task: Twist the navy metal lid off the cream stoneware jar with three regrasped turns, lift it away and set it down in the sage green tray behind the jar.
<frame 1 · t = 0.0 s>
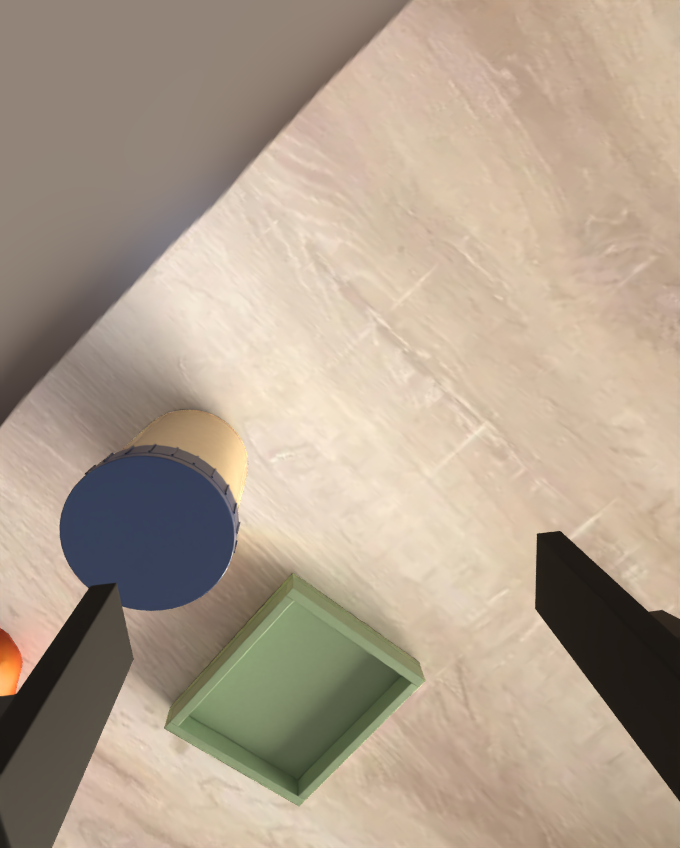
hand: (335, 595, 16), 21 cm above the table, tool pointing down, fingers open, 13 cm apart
lid: (151, 532, 26), point 11 cm above the table, screwed on, not yet turned
tray: (296, 684, 42), on the table
jar: (191, 463, 37), on the table
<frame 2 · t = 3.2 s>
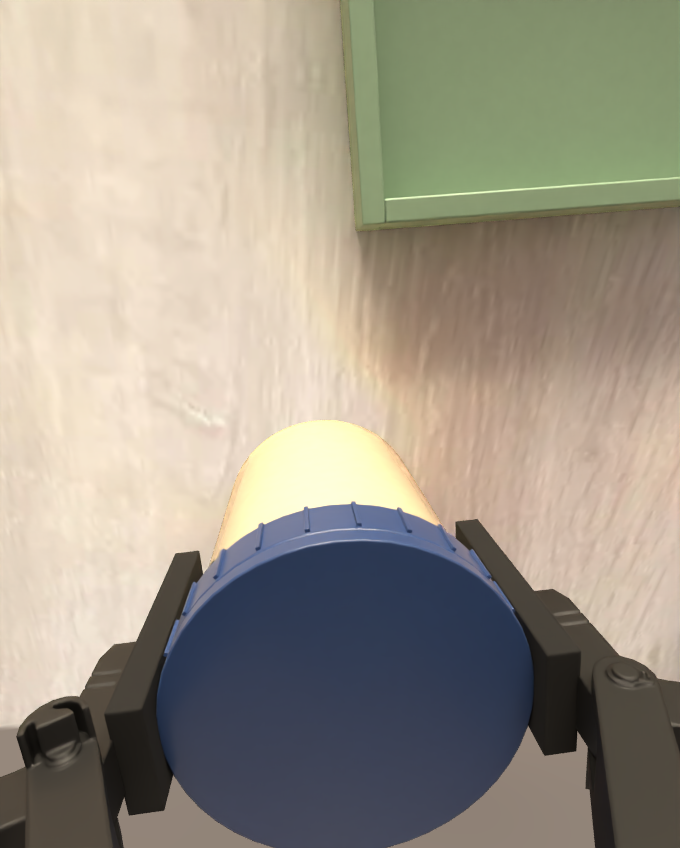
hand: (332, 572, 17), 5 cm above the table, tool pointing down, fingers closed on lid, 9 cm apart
lid: (348, 695, 12), point 11 cm above the table, screwed on, not yet turned, touching gripper
tray: (559, 11, 18), on the table
jar: (323, 508, 22), on the table
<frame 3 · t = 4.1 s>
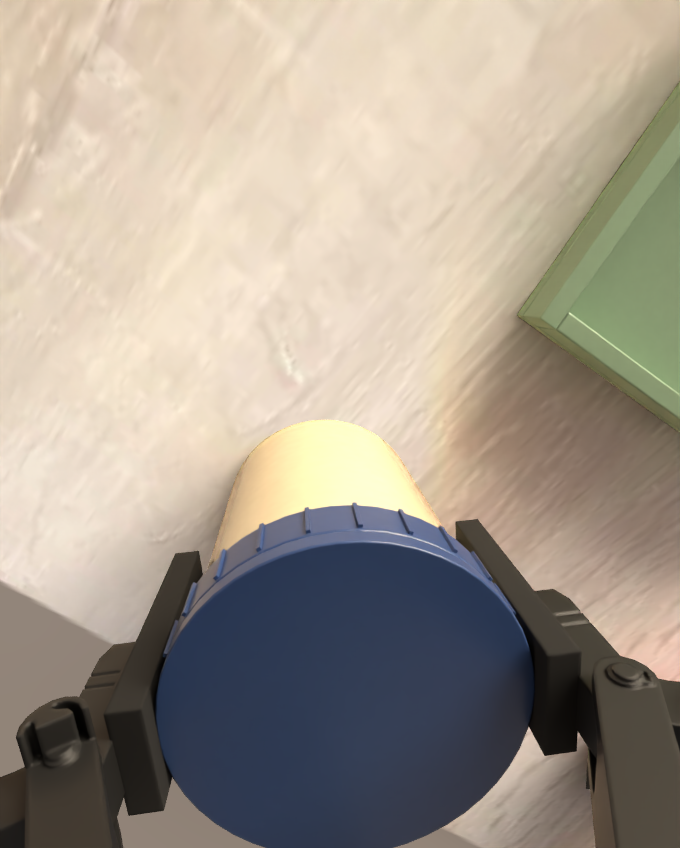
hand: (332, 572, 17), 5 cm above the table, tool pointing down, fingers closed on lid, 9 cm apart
lid: (348, 697, 12), point 11 cm above the table, turned 37° so far, risen 0.1 cm, still on its thread, touching gripper
jar: (323, 508, 22), on the table
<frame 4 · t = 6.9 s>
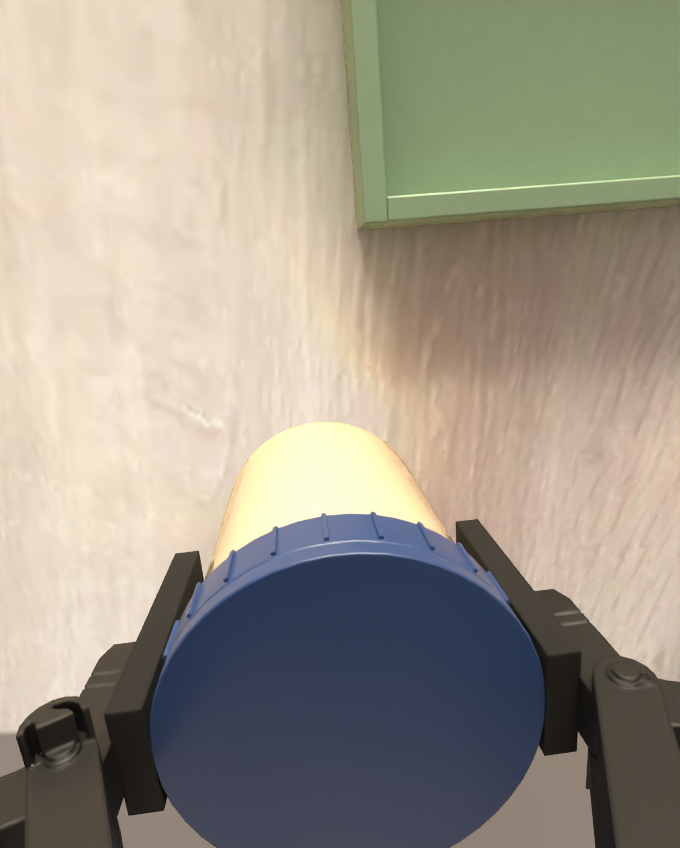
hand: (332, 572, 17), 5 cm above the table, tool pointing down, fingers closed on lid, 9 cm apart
lid: (351, 714, 12), point 11 cm above the table, turned 70° so far, risen 0.2 cm, still on its thread, touching gripper
tray: (565, 5, 18), on the table
jar: (324, 512, 22), on the table
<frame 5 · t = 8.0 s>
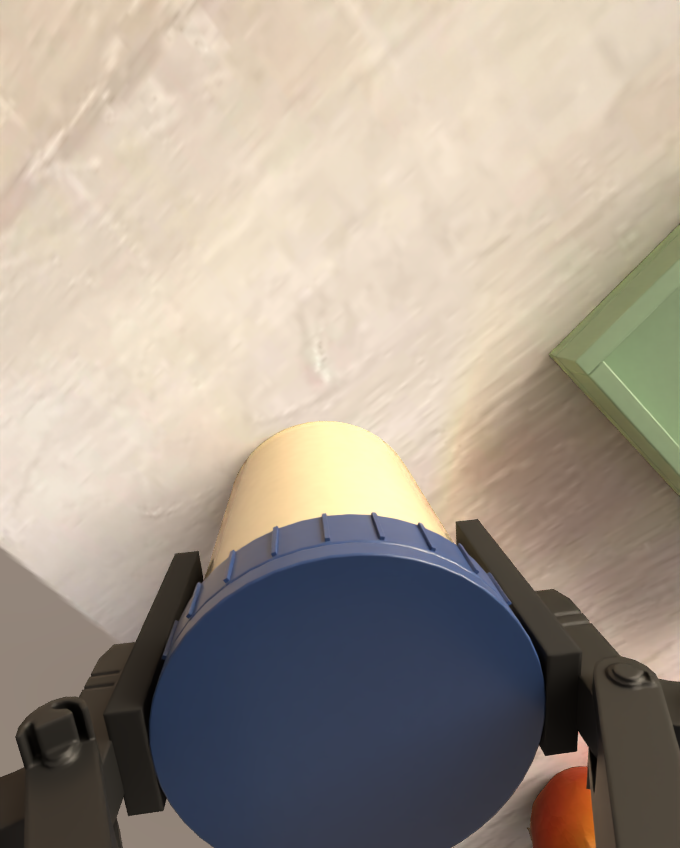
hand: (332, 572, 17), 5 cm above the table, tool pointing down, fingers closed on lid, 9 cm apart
lid: (351, 715, 12), point 11 cm above the table, turned 118° so far, risen 0.3 cm, still on its thread, touching gripper
jar: (323, 510, 22), on the table
fruit: (581, 793, 28), on the table
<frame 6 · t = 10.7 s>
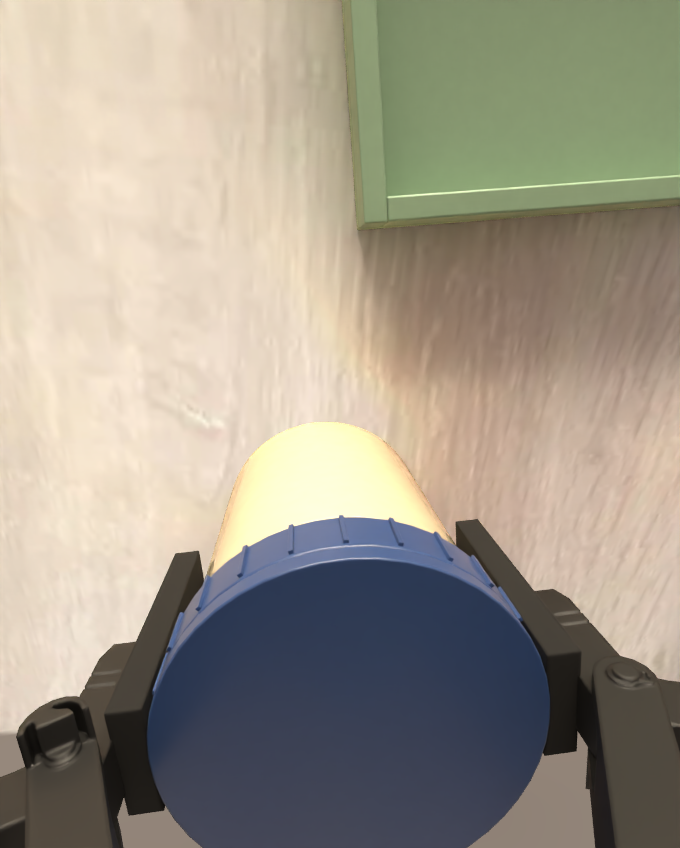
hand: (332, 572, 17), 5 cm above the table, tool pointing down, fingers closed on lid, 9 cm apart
lid: (352, 721, 11), point 11 cm above the table, turned 140° so far, risen 0.4 cm, still on its thread, touching gripper
tray: (565, 5, 18), on the table
jar: (324, 512, 22), on the table
when the fingers open (3 cm above the table, at t = 18.7 s): lid drops 7 cm, resting on tray.
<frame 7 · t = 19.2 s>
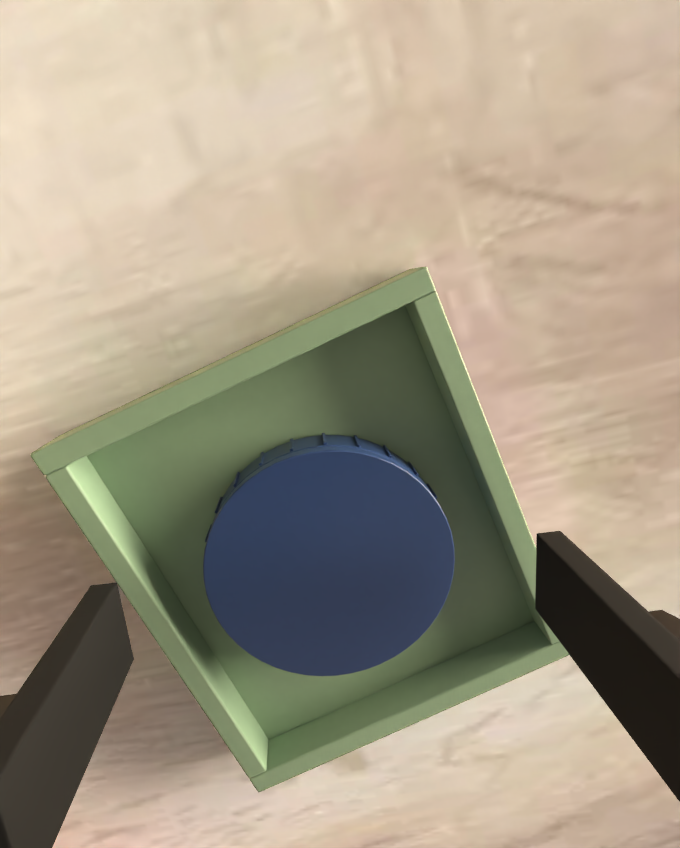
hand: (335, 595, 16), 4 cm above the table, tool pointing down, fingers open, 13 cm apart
lid: (330, 563, 18), point 2 cm above the table, off its thread, touching tray
tray: (327, 535, 20), on the table
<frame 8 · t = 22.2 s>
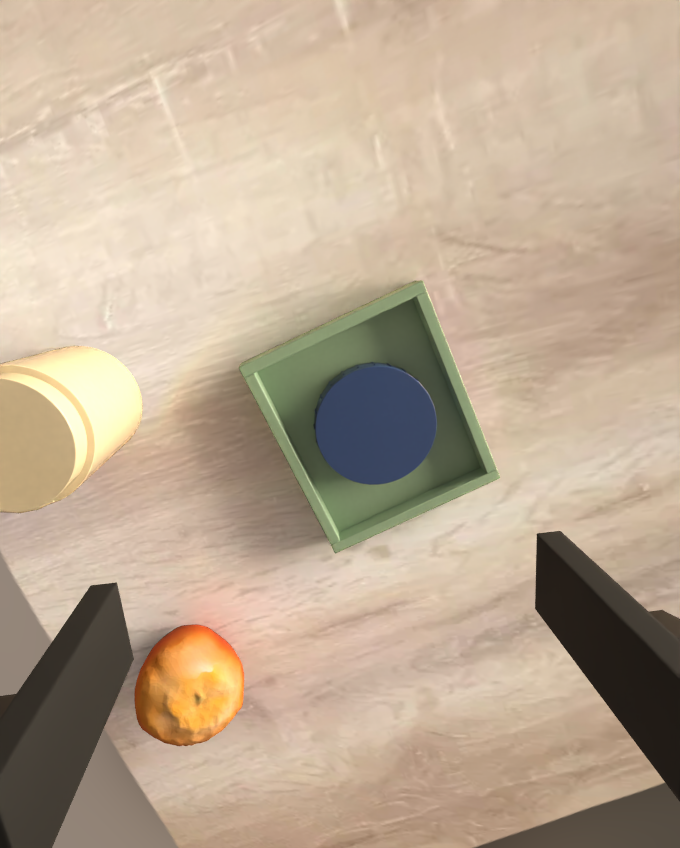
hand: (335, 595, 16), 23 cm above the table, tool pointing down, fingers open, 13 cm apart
lid: (375, 425, 36), point 2 cm above the table, off its thread, touching tray
tray: (371, 418, 38), on the table
jar: (84, 402, 36), on the table
fruit: (198, 651, 42), on the table
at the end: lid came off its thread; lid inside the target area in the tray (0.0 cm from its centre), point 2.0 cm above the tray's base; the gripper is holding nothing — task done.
